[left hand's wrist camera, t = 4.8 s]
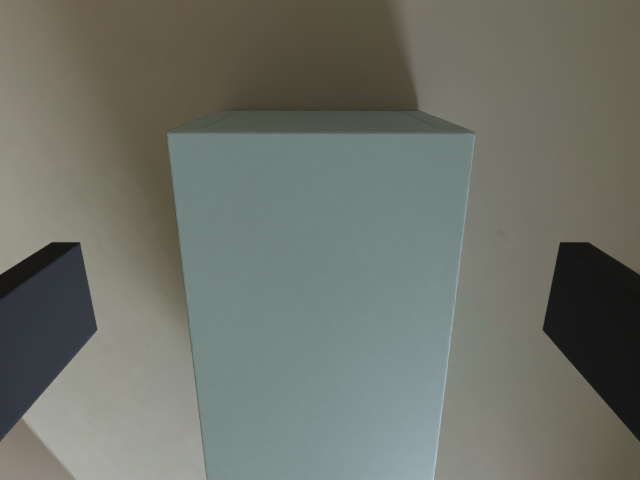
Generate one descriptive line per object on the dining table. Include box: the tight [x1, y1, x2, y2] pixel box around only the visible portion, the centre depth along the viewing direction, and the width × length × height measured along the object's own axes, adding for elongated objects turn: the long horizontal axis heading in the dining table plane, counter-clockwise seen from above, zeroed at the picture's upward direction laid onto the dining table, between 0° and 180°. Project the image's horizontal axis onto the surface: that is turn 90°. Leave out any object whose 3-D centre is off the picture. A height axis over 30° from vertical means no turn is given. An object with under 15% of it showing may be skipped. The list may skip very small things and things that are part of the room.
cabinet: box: [166, 111, 475, 480], centre depth 24 cm, size 19×11×9 cm, turn 0°
